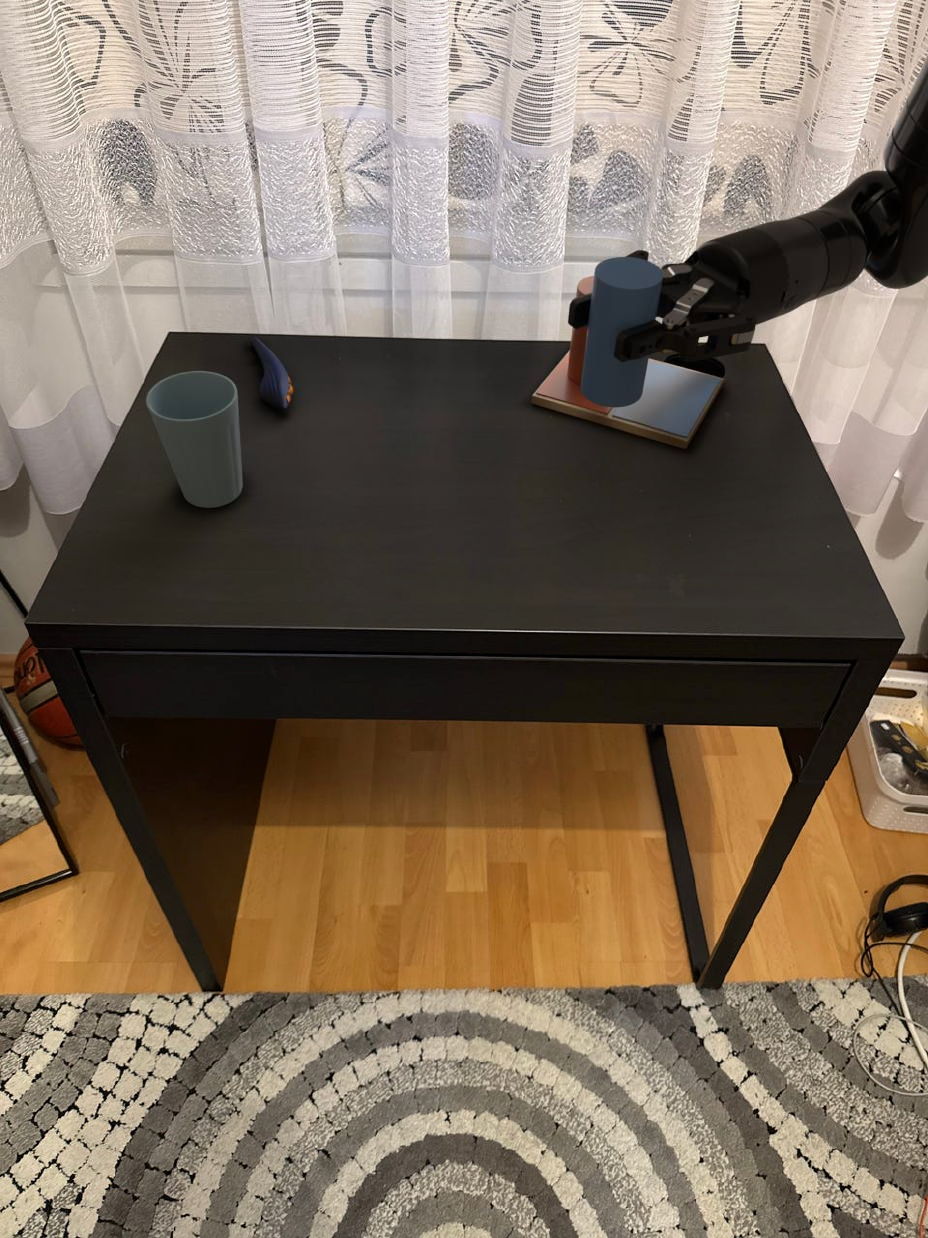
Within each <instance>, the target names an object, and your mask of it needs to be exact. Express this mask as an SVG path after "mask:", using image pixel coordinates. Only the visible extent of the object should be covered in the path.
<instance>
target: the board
mask: <svg viewBox="0 0 928 1238" xmlns="http://www.w3.org/2000/svg"><path fill="white" fill-rule="evenodd" d="M569 354H570V350H568V352H567V353H566V354H565V355H564V356H563V357H562V359H561V360H560V361H559V363H558V364H557V365H556V366H555V367H554V369H552V370H551V372H550V373H549V375H548V376H547V377H546V378H545V380H544V381H543V382H542V383H541V384H540V385H539V386H538V387H537V389H536V390H535V391H534V393H533V394H532V396H531V404H532V405H536V406H538V407H542V408H546V409H549V410H553V411H556V412H559V413H562V414H565V415H569V416H572V417H575V418H579V419H582V420H586V421H589V422H593V423H596V424H599V425H603V426H606V427H609V428H613V429H616V430H619V431H623V432H626V433H629V434H633V435H637V436H639V437H644V438H647V439H650V440H653V441H656V442H660V443H662V444H667V445H670V446H673V447H675V448H680V449H684V450H686V449H687V448H688V447H689V445H690V443H691V441H692V439H693V438H694V436H695V434H696V433H697V431H698V429H699V427H700V426H701V424H702V422H703V421H704V419H705V417H706V415H707V414H708V412H709V410H710V408H711V407H712V405H713V404H714V402H715V400H716V398H717V397H718V395H719V393H720V392H721V389H722V388H723V386H724V381H725V378H723V377H719V376H716V375H711V374H709V373H704V372H700V371H697V370H693V369H690V368H686V367H683V366H678V365H675V364H671V363H668V362H664V361H660V360H656V359H653V358H650V357H649V359H648V365H647V370H646V376H645V382H644V387H643V393H642V396H641V398H640V399H639V400H638V401H637V402H636V403H634V404H632V405H629V406H625V407H605V406H601V405H598V404H595V403H593V402H591V401H589V400H588V399H587V398H586V397H585V396H584V395H583V394H582V392H581V385H579V384H577V383H575V382H573V381H572V380H571V379H570V378H569V376H568V373H567V372H568V363H569Z"/></svg>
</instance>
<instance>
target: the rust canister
mask: <svg viewBox="0 0 928 1238" xmlns="http://www.w3.org/2000/svg"><path fill="white" fill-rule="evenodd" d="M593 280H594V275H590V276H586V277H584V278H582V279H580V280H578V283H577V284H576V291H575V292H576V294H575V298H576V297H579V296H582V295H586V294H588V293H591V292H592V289H593ZM571 328H572V329H571V337H570V346H569V351H570V354H569V363H568V372H567V373H568V376H569V378H570V379H571V380H572V381H573V382H575V383H577V384H579V385H581V380H582V372H583V363H584V355H585V347H586V338H587V330H588V325H587V326H584V327H581V328H579V329H575V328H573V327H572V326H571Z"/></svg>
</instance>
